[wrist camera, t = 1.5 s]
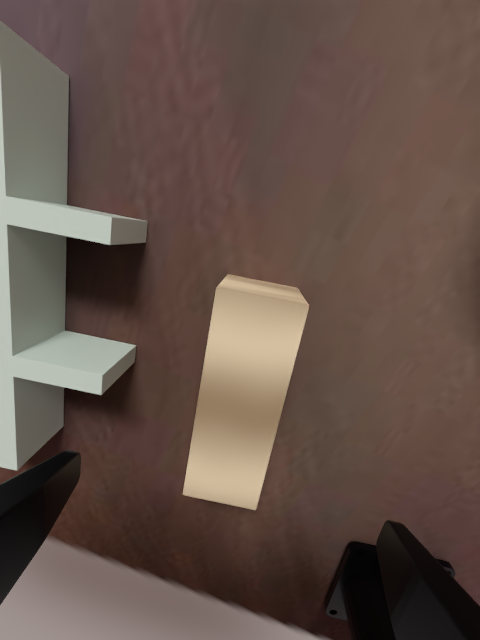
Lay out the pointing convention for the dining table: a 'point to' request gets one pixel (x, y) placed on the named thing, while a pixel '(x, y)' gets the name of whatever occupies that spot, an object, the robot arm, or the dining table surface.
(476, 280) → the dining table surface
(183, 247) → the dining table surface
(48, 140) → the rail
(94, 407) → the dining table surface
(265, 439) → the tan wooden block
